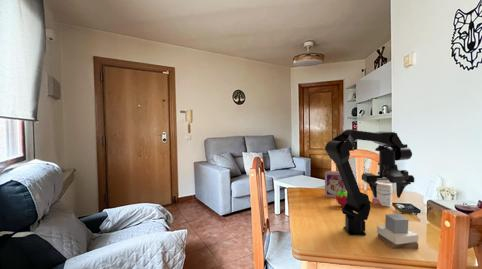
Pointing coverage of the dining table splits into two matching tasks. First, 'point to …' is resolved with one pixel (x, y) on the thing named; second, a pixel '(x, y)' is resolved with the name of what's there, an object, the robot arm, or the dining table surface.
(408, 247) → the tower bottom
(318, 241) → the dining table surface
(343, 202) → the strawberry
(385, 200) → the ink cartridge box
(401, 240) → the tower top
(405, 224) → the slate cube
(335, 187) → the pink snowman box
